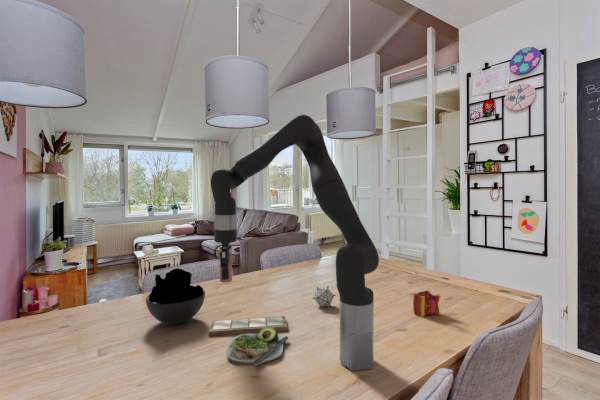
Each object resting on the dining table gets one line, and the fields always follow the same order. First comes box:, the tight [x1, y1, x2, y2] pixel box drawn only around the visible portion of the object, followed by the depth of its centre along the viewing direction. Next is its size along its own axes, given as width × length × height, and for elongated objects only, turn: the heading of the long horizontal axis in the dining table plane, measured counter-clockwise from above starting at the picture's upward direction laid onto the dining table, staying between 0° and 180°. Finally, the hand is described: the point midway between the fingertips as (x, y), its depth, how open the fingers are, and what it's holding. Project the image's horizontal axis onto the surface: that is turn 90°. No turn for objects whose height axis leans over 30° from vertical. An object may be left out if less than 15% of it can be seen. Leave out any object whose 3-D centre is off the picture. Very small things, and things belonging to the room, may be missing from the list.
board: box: [208, 315, 289, 337], centre depth 114 cm, size 9×26×2 cm, turn 98°
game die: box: [311, 285, 337, 309], centre depth 134 cm, size 9×8×10 cm
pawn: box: [218, 251, 233, 283], centre depth 113 cm, size 4×4×11 cm
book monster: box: [412, 289, 442, 318], centre depth 123 cm, size 11×9×12 cm
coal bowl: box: [145, 268, 206, 325], centre depth 119 cm, size 20×20×19 cm
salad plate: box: [226, 327, 289, 367], centre depth 97 cm, size 19×18×5 cm
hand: (225, 277), depth 113 cm, fingers closed on pawn, 4 cm apart
